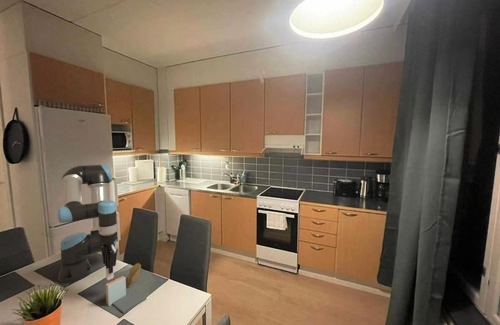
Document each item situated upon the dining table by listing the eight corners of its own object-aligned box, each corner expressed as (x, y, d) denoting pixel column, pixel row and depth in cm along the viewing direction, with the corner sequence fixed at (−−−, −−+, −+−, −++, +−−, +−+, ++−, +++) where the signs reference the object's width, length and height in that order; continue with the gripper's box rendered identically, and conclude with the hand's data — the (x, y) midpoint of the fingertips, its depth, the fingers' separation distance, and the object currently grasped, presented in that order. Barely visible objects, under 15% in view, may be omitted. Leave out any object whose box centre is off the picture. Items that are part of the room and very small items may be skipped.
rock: (128, 287, 112) (146, 275, 120) (121, 272, 114) (139, 261, 122) (122, 291, 119) (140, 280, 127) (116, 277, 120) (134, 266, 128)
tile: (106, 304, 104) (105, 284, 103) (123, 294, 110) (123, 275, 109) (108, 306, 102) (108, 286, 101) (126, 296, 109) (125, 277, 108)
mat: (112, 304, 103) (112, 302, 103) (135, 291, 113) (135, 290, 112) (123, 313, 98) (123, 311, 98) (146, 299, 107) (146, 297, 107)
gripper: (93, 232, 107) (95, 277, 109) (106, 238, 100) (108, 287, 102) (110, 227, 113) (111, 270, 115) (122, 233, 106) (124, 279, 108)
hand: (110, 278), depth 109 cm, fingers closed
